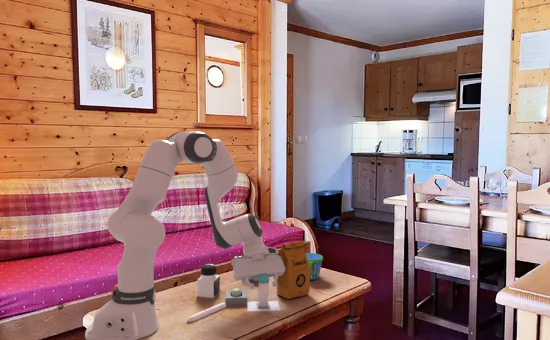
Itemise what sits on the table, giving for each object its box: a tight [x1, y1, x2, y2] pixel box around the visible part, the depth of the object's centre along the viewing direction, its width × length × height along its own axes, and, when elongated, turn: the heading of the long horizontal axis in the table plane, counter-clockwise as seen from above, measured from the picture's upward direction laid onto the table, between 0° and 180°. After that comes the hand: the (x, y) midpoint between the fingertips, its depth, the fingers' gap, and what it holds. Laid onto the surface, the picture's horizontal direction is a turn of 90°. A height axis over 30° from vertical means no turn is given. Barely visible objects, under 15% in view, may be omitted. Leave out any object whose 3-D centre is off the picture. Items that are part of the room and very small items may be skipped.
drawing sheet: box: [246, 300, 281, 313], centre depth 158 cm, size 12×9×1 cm
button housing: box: [225, 289, 248, 307], centre depth 162 cm, size 8×8×3 cm
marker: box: [186, 301, 227, 323], centre depth 150 cm, size 18×2×2 cm, turn 142°
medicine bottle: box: [196, 263, 221, 299], centre depth 169 cm, size 7×7×12 cm
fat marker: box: [257, 274, 270, 307], centre depth 158 cm, size 4×4×12 cm
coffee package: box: [276, 240, 311, 300], centre depth 169 cm, size 10×12×22 cm
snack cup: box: [305, 252, 324, 281], centre depth 190 cm, size 16×10×10 cm
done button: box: [231, 287, 242, 296], centre depth 162 cm, size 4×4×3 cm
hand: (263, 287), depth 157 cm, fingers open, 8 cm apart
